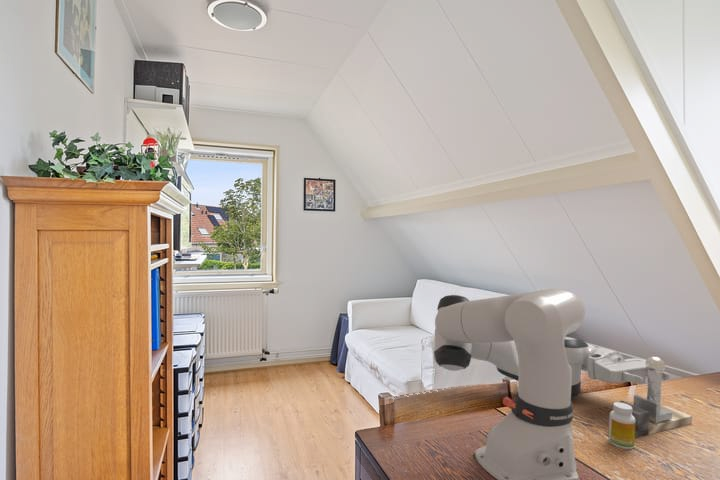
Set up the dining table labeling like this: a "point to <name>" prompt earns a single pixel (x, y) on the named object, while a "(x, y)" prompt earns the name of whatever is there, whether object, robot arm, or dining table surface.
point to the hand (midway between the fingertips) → (655, 378)
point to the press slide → (653, 392)
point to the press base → (648, 427)
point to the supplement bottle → (622, 426)
